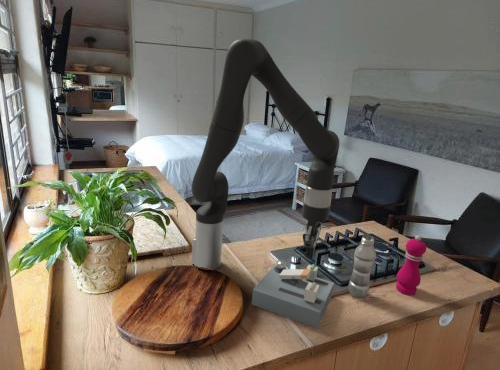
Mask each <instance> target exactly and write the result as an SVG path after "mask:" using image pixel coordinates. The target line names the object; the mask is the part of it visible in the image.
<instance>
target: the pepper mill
mask: <svg viewBox="0 0 500 370" xmlns="http://www.w3.org/2000/svg"><path fill="white" fill-rule="evenodd" d="M405 250H406V251H405V257H406V258H405V262H404V264H403V265H402V267H400V269H399V270H398V272H397V274H396V280H397V282H396V285H395V289H396V290H397V291H398V292H399V293H401V294H403V295H407V296H414V295H416V293H417V291H418V287H419V285H420V284H421V273H420V269H419V267H420V266H419V265H420V262H421V261H422V260H423V256H424V254H426V252H427V245H426V243H425V242H424V241H423V240H422V236H421V235H418V234H417V235H415V237H414V238H410V239H409V240H408V241H406V243H405Z"/></svg>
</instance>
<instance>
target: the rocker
mask: <svg viewBox="0 0 500 370" xmlns="http://www.w3.org/2000/svg"><path fill="white" fill-rule="evenodd" d="M310 275H311V269H306V268H303V269H301V268H297V269H293V268H292V269H290V268H287V269H284V270H283V271H282V272H281V273H280V275H279V277H280V279H308V278H309V276H310Z"/></svg>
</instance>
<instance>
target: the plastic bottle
mask: <svg viewBox="0 0 500 370" xmlns="http://www.w3.org/2000/svg"><path fill="white" fill-rule="evenodd" d="M374 245H375V238H374V237H373V236H370V235H362V237H361V240H360V244H359V245H358V246H357V247H356V248H355V250H354V258H353V259H354V260H353V261H354V262H353V269H352V274H351V277H350V279H349V281H348V285H347V286H348V287H347V288H348V293H349V295H351V297H353V298H356V299H365V298H366V297H367V296H368V294H369V293H370V279H371V273H372V269H373V265H374V263H375V260H376V257H377V254H376V250H375V248H374Z"/></svg>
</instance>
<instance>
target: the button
mask: <svg viewBox="0 0 500 370" xmlns="http://www.w3.org/2000/svg"><path fill="white" fill-rule="evenodd" d="M276 265H277V266H276V269H277V270H280V271H283V270H284V269H286V268H287V261H286V260H284V259H278V260H277V261H276Z"/></svg>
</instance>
